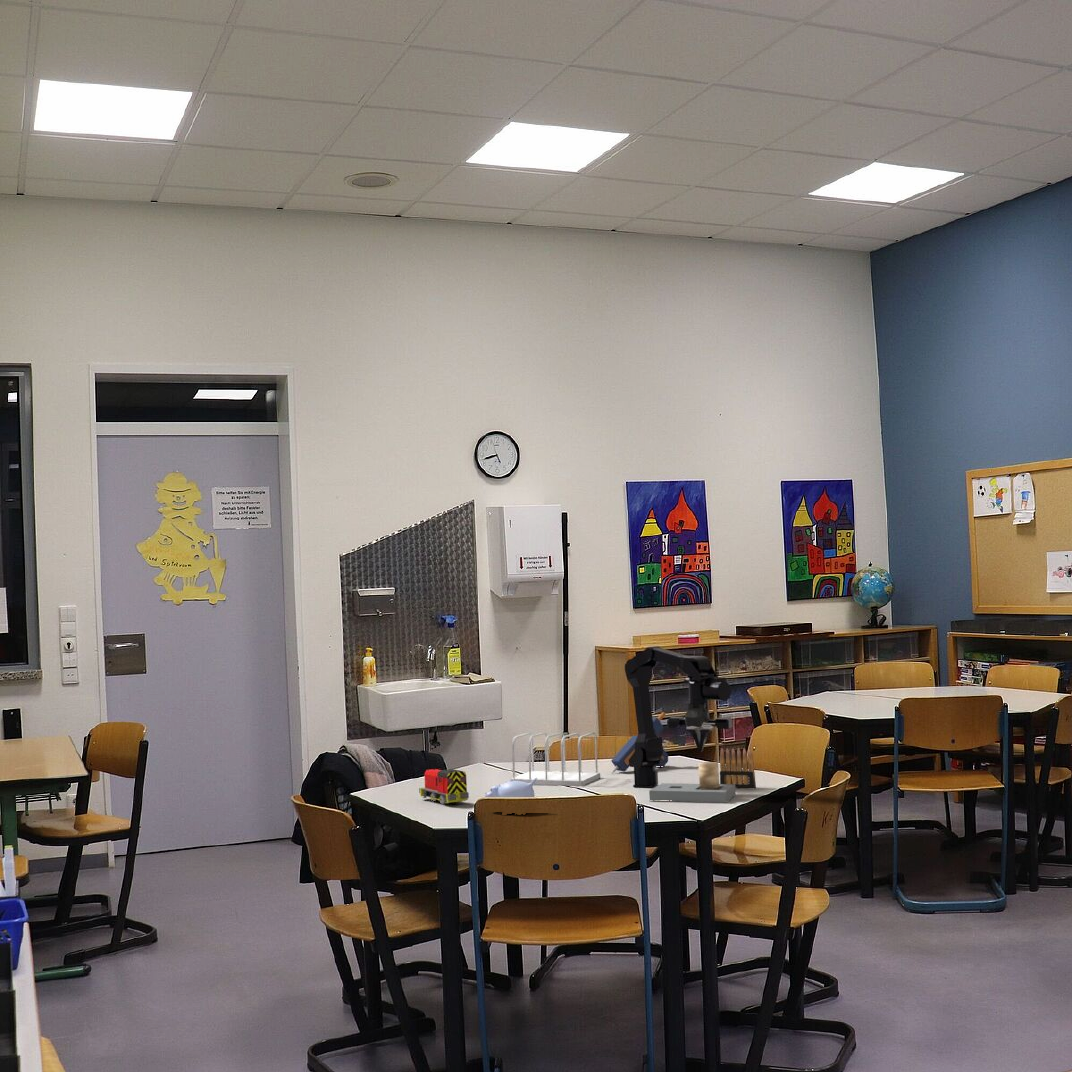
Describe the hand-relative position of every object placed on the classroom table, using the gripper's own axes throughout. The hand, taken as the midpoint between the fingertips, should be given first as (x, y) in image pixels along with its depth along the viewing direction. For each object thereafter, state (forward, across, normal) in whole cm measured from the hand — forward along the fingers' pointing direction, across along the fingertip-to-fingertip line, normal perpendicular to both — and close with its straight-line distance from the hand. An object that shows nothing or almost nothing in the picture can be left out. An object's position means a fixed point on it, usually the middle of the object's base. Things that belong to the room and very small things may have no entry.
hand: (700, 751), depth 347 cm
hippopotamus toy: (+13, -44, -39) cm, 60 cm away
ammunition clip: (+12, +8, +12) cm, 19 cm away
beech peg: (+12, +5, -8) cm, 15 cm away
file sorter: (+14, -53, +18) cm, 58 cm away
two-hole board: (+12, 0, -9) cm, 15 cm away
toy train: (+14, -72, -26) cm, 78 cm away
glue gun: (+14, -33, +45) cm, 58 cm away
